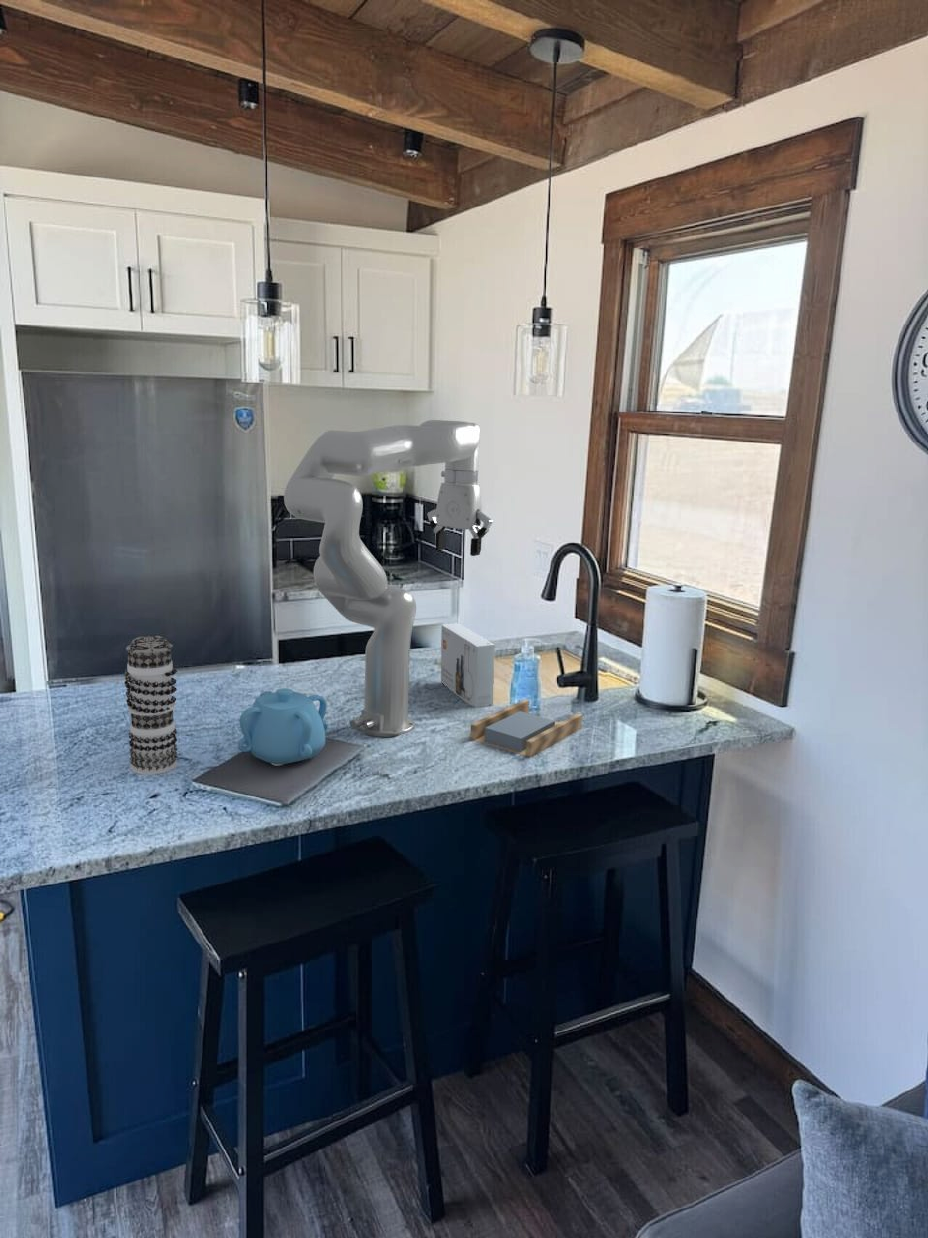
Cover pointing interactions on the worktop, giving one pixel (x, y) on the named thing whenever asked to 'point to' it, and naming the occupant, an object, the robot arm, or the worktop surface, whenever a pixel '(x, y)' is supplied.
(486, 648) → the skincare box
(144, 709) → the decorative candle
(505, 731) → the slate cover plate
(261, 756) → the decorative pot
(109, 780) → the worktop surface
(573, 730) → the wooden tray
